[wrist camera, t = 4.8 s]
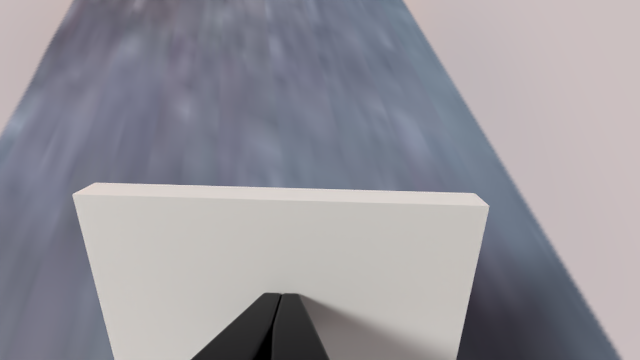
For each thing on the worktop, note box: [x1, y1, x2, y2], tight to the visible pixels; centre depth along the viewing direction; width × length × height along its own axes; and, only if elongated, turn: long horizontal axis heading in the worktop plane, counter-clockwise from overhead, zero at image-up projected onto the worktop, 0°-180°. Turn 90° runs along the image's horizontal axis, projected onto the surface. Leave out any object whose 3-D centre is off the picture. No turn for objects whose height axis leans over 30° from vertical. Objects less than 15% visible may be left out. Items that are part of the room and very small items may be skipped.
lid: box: [72, 183, 489, 360], centre depth 8 cm, size 7×9×1 cm
